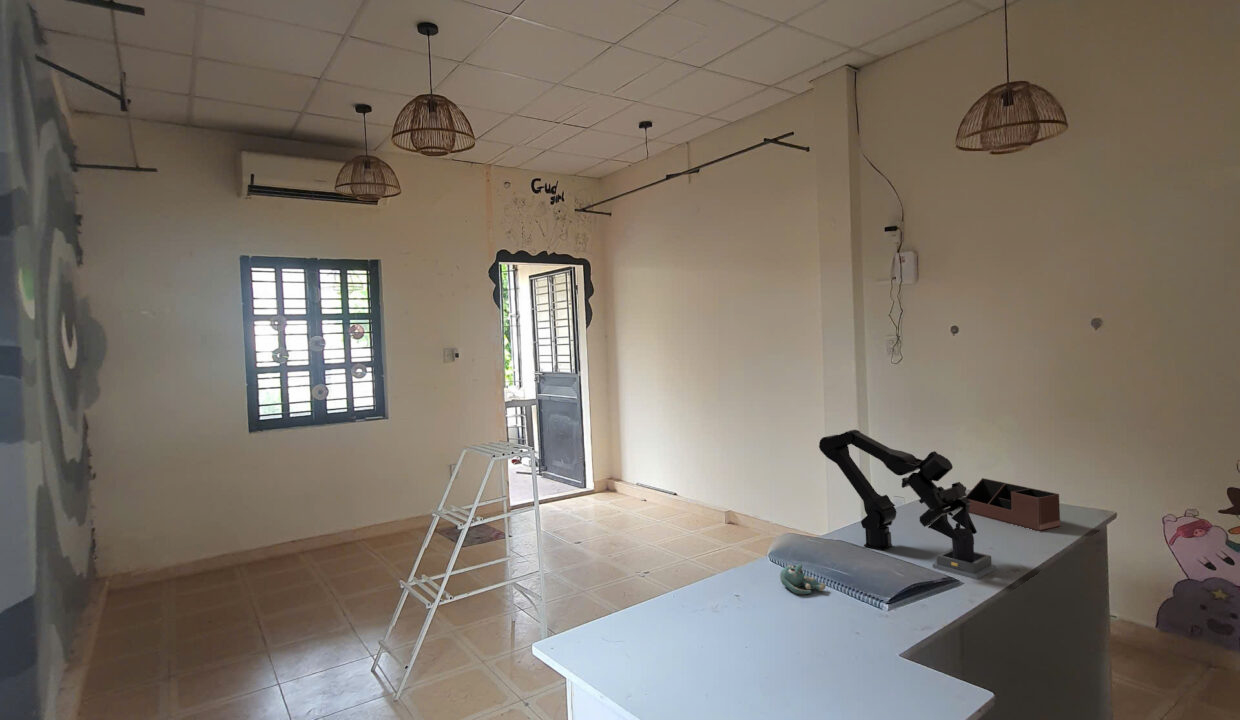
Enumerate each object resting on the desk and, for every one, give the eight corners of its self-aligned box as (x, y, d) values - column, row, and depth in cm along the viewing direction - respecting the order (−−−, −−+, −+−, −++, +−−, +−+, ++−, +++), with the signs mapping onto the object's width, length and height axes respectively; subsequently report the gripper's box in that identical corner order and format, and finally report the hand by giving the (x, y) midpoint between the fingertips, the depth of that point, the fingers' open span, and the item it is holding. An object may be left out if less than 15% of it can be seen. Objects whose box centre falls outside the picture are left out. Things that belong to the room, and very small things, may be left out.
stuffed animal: (821, 580, 161) (776, 564, 167) (817, 606, 161) (772, 590, 168) (832, 566, 170) (788, 552, 176) (828, 591, 170) (785, 576, 177)
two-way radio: (976, 564, 176) (974, 511, 176) (972, 569, 173) (970, 515, 172) (954, 560, 180) (952, 508, 179) (950, 565, 177) (948, 512, 176)
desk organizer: (1040, 533, 203) (1039, 498, 203) (962, 511, 231) (960, 481, 230) (1063, 528, 207) (1061, 493, 206) (983, 507, 234) (982, 477, 234)
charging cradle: (932, 567, 178) (932, 555, 178) (952, 558, 185) (952, 546, 185) (976, 579, 169) (976, 566, 169) (996, 568, 175) (995, 556, 175)
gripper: (928, 479, 174) (971, 527, 165) (962, 468, 185) (1004, 513, 176) (902, 503, 181) (942, 550, 172) (936, 491, 191) (976, 535, 183)
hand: (967, 536), depth 176 cm, fingers open, 9 cm apart
